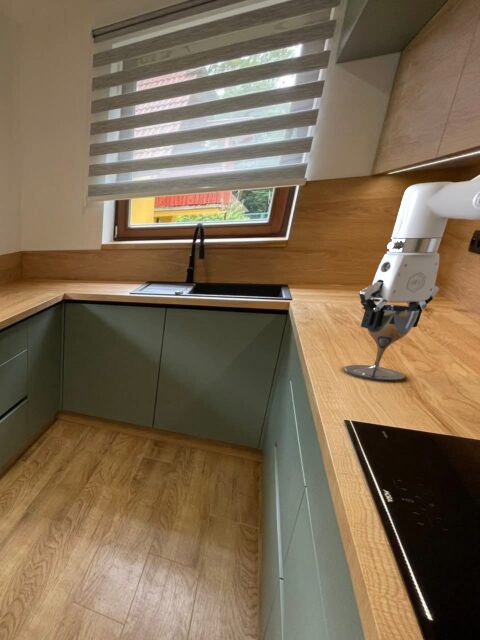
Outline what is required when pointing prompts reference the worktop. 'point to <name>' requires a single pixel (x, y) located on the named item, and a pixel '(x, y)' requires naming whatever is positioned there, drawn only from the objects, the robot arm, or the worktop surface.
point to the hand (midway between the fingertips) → (388, 326)
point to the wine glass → (389, 334)
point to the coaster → (395, 378)
